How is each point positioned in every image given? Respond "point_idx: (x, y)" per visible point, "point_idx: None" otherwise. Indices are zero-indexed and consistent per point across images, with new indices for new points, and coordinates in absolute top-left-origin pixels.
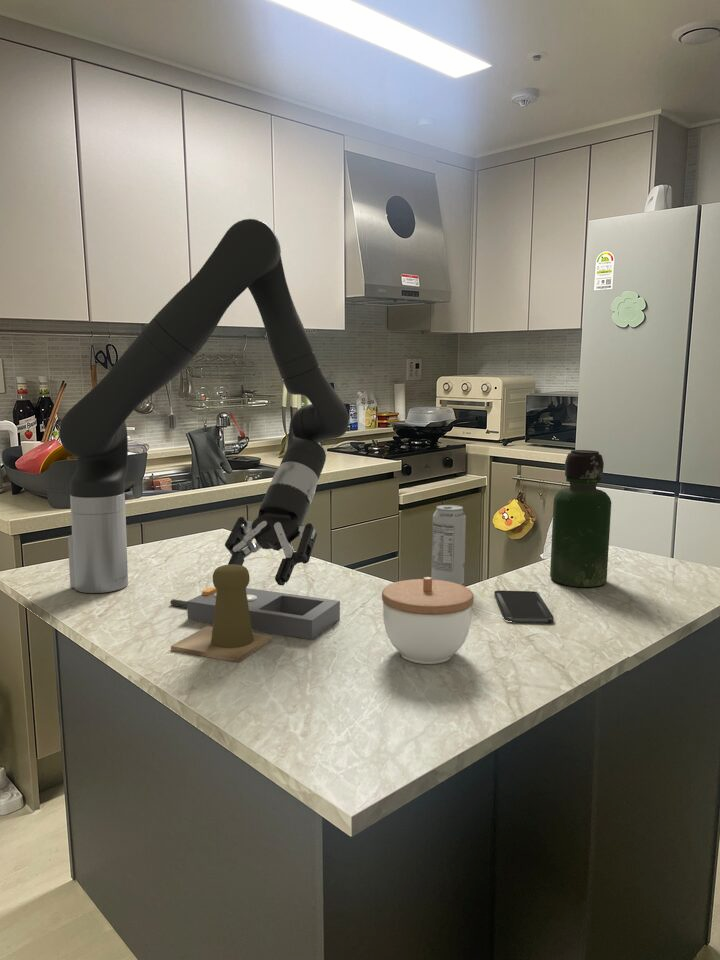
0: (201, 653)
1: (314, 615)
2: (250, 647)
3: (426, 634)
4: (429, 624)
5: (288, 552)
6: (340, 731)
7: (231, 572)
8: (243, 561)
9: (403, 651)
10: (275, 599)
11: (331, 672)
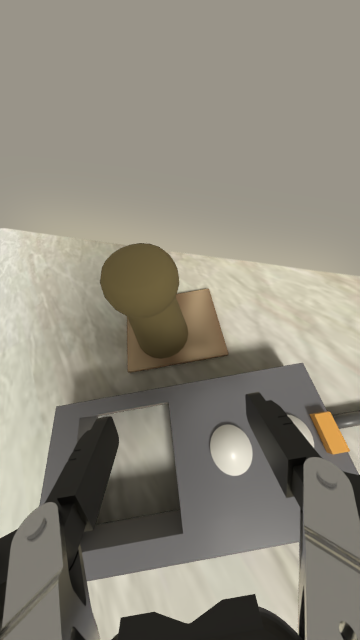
0: None
1: (58, 432)
2: (130, 328)
3: None
4: None
5: (33, 544)
6: (7, 268)
7: (117, 251)
8: (281, 486)
9: None
10: (178, 487)
11: (30, 336)
